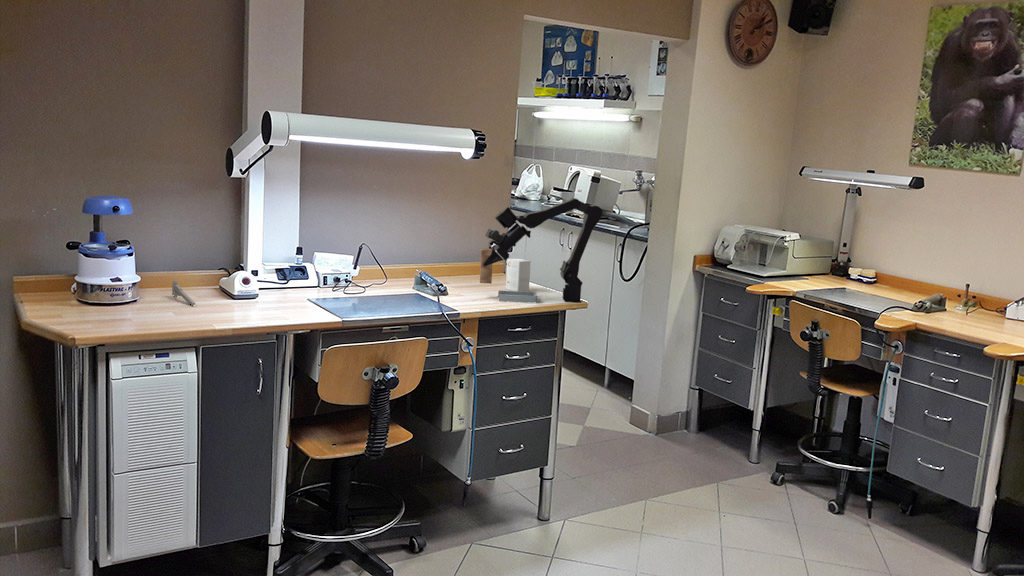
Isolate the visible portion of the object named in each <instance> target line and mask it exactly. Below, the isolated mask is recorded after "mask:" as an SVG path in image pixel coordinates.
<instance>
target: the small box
mask: <svg viewBox="0 0 1024 576" xmlns="http://www.w3.org/2000/svg"><path fill="white" fill-rule="evenodd" d="M530 275H531V260H527V259H523V258H508V259H507V260H506V277H505V278H506V279H505V289H506V291H524V292H530V278H531V276H530Z"/></svg>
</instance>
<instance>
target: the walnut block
mask: <svg viewBox="0 0 1024 576" xmlns="http://www.w3.org/2000/svg"><path fill="white" fill-rule="evenodd" d="M491 252H492V249H489V248H481V250H480V268H479V269H480V273H479V284H492V283H493V282H492V279H493V278H492V277H493V264H490V265H487V266H484V265H483V264H484V262H485V261H486V260H487V258H488V257H489V256H490V255H491Z"/></svg>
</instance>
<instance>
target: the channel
mask: <svg viewBox="0 0 1024 576" xmlns="http://www.w3.org/2000/svg"><path fill="white" fill-rule="evenodd" d="M497 297H498V302H507V301H509V302H510V303H511V302H512V303H513V302H514V303H528V302H537V303H538V297H539V295H538V294H537V292H536V291H527V292H524V291H511V290H504V289H503V290H501V289H500V290H498V292H497Z"/></svg>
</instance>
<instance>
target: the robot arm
mask: <svg viewBox="0 0 1024 576" xmlns="http://www.w3.org/2000/svg"><path fill="white" fill-rule="evenodd" d="M573 210H577V211H579V212H581V213H583V221H582V226H581V228H580V231H579V234H578V236H577V239H576V241H575V244H574V246H573V249H572V252H571V254H570V257H568V259H567V261H565V260H563V261H562V265H561V267H560V268H559V271H560V277H561V278H562V279H563V280H564V282H565V283H564V287H563V289H562V300H563V301H564V302H567V303H568V302H569V303H582V300H581V297H582V296H581V294H582V285H583V281H581V279H580V278H579V277H578V276H579V271H580V262H581V260H582V256H583V254H584V252H585V250H586V247H587V244H588V243H589V240H590V237H591V235H592V233H593V230H594V228H596V226H597V225H598V224H599V222H600V220H601V218H602V217H603V210H602V208H601V207H600V206H599V205H596V204H587V203H586V202H585V203H584V202H583V201H581V200H579V199H578V198H575V197H572V198H570V199H569V200H566V201H564V202H561V203H558V204H556V205H553V206H551V207H548V208H545V209H541V210H534V211H530V212H525V214H523V215H515V213H514V212H513V210H511V208H510V207H509V206H507V207H505V208H504V209H503V210H501V211H499V212H498V213H497V214H496V215H495V217H494V219H495V220H496V221H497V222H498V224H500V225H501V227H502V228H503V229H506V228H507V229H508V231H506V233H505V232H503V233H502V234H500V231H499V230H497V229H494V230H493V229H491V228H488V230H487V232H486V233H485V235H484V236H485V237H487V239H491V240H489V241H488V249H492V252H491V255H490V256H489V257H488V258H487V260H486V261H485V262H484V264H483V265H484V266H487V265H490V264H492V265H493V264H495V263H498V262H501V261H506V262H507V259H510V253H509V251H510V250H511V249H512V248H513V247H516V246H517V243H519V241H521V240H522V239H523V237H525V236H526V237H527V238H529V239H530V238H531V230H530V229H535V228H537V227H538V226H540V225H542V224H543V223H545V221H548V220H550V219H553V218H554V217H557V216H559V215H563V214H565V213H568V212H571V211H573ZM520 224H522V225H520ZM526 227H527V228H526ZM528 229H529V230H528ZM580 300H581V301H580Z"/></svg>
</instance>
